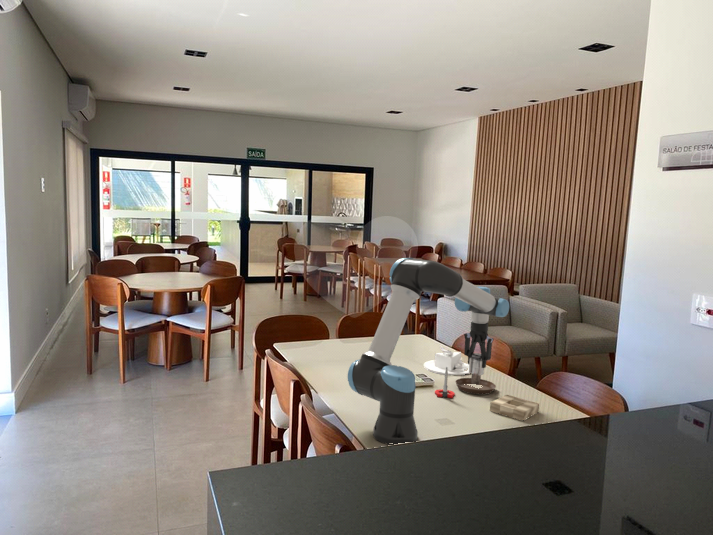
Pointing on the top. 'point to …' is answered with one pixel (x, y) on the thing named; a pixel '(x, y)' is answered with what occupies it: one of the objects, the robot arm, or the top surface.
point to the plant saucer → (486, 388)
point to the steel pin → (476, 368)
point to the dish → (447, 363)
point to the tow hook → (445, 389)
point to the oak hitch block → (514, 407)
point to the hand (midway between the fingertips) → (476, 373)
